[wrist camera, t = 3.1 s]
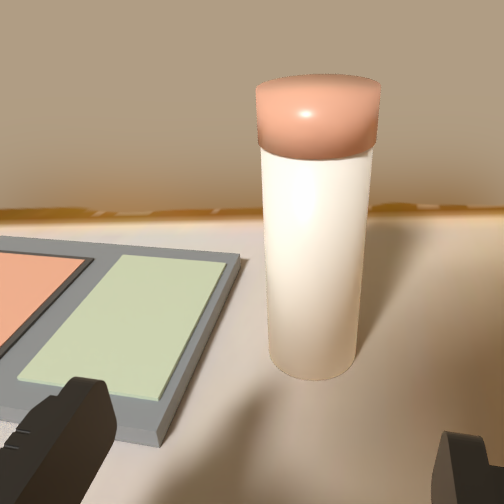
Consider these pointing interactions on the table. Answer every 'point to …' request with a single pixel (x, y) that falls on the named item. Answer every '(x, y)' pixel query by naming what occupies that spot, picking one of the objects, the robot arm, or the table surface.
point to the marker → (315, 215)
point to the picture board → (107, 325)
